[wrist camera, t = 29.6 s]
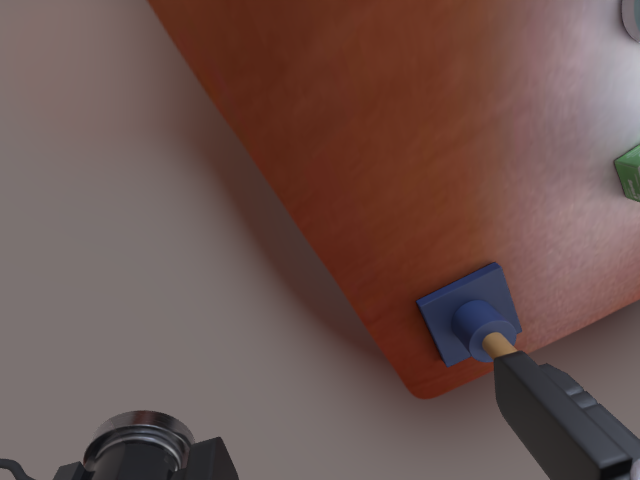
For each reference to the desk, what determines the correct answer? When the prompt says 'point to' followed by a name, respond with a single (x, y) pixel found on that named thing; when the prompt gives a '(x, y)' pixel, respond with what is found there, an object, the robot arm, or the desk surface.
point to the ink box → (630, 173)
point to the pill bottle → (632, 17)
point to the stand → (472, 317)
